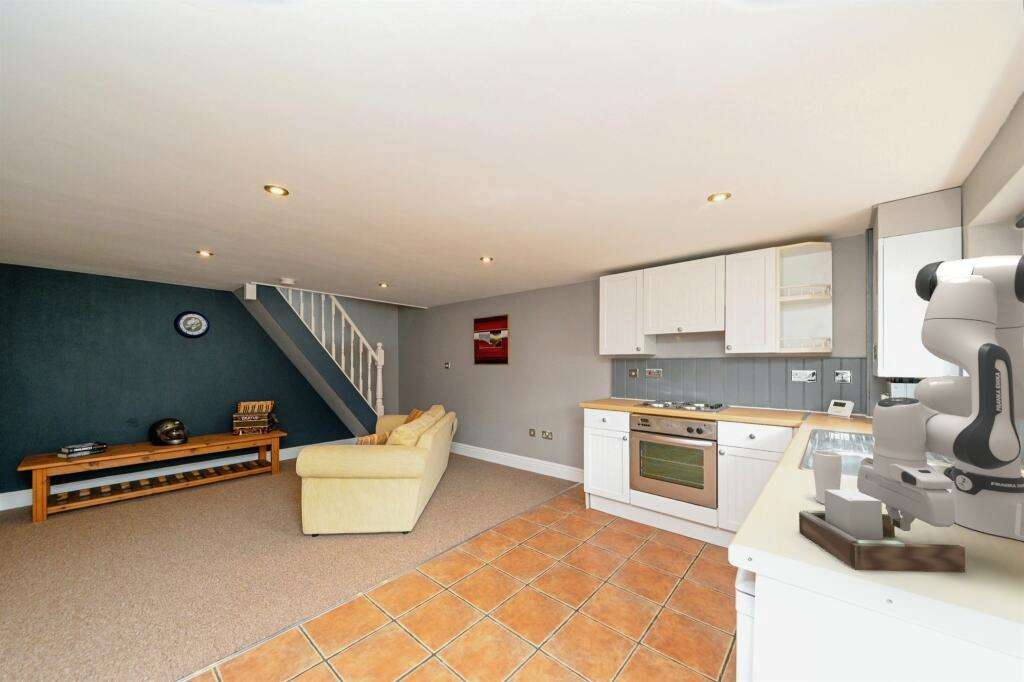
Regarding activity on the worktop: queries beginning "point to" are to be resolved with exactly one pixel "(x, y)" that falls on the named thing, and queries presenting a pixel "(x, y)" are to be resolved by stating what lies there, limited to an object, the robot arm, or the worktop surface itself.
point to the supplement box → (854, 514)
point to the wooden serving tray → (880, 548)
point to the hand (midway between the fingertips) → (900, 528)
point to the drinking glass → (826, 472)
